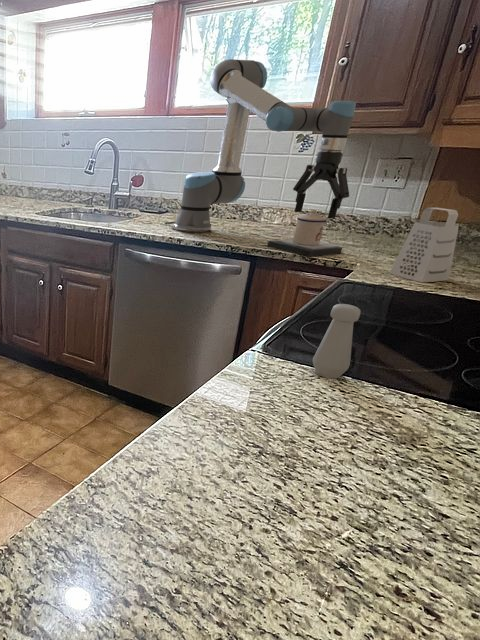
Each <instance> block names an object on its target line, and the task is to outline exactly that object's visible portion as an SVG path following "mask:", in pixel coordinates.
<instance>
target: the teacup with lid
mask: <svg viewBox="0 0 480 640" xmlns="http://www.w3.org/2000/svg"><path fill="white" fill-rule="evenodd" d="M317 212H318V211H317V209H311V210H310V211H309V212H307V213H305V214H301V215H298V216H297V218H296V219H297V221H296V225H295V229H294V232H293V238H292V239H293V242H294V243H297V244H302V245H318V244H319V242H321V238H322V234H323V231H324V227H325V224H326V222H327V220H326V219H327V217H324V216H322V215H321V214H320V213H317Z"/></svg>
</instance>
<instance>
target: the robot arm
mask: <svg viewBox="0 0 480 640" xmlns="http://www.w3.org/2000/svg"><path fill="white" fill-rule="evenodd" d="M209 80H210V81H209V82H210V83H209V84H210V87H211V89H213V91H214V92H216V93H217V94H218V95H220V96H221V97H224V100H225V101H226V102H227V109H226V115H225V119H224V124H223V130H222V137H221V142H220V147H219V154H218V159H217V164H216V167H214V168H213V169H212V171H197V172H191V173H188V174H187V175H186V176H185V179H184V183H183V189H182V196H181V204H180V210H179V212H178V215H177V216H176V220H175V221H167V222H164V225H168V224H169V225H170V224H171V225H172V224H173V227H172V228H173V230H175V231H180V232H186V233H209V232H211V229H212V224H211V217H210V207H211V205H215V204H224V205H226V204H230V203H235V202H237V201H238V200H239V199H240V198H241V197H242V195H243V194H244V192H245V188H246V182H245V178H244V177H243V176H242V172H243V171H242V169H241V168H240V162H241V158H242V153H243V147H244V143H245V138H246V132H247V128H248V127H247V126H248V121H249V118H250V112H251V113H252V114H254V115H255V116H257V117H258V118H260V119H262V120H263V121H264V122H265V125H266V127H267V129H268V130H270V131H273V132H277V133H279V132H306V133H307V132H311V133H312V132H313V133H315V132H316V133H317V132H319V133H322V135H321V139H320V143H319V146H318V150H319V151H318V152H317V155H316V159H315V163H316V164H307V165H306V167H305V171H304V172H303V173H302V175H301V176H300V178H299V179H298V181H297V182H296V183H295V185H294V186H293V188H292V191H294V192H297V193H296V197H295V208H294V210H293V211H294V213H302V211H303V207H304V203H305V199H306V195H307V193H306V191H307V190H309V188H310V187H311V186H313V185H314V184H315V183H316V182H317V181H318V180H319V181H320V180H322V181H327V183H328V184H329V186H330V188H331V190H332V193H333V195H334V198H332V200H331V204H330V207H329V211H328V214H327V219H336V216H337V212H338V210H339V209H340V208H341V205H342V202H343V199H346V198H349V197H350V191H349V184H348V177H347V174H348V168H347V167H339V166H340V164H341V163H342V159H343V155H344V153H343V151H344V150H345V148H346V145H347V141H348V136H349V132H350V128H351V127H352V123H353V120H354V117H355V110H356V106H357V103H356V102H355V101H353V100H333V101H331V102H330V104H329V106H328V107H302V106H301V107H299V106H291V105H289V104H288V103H286V102H284V101H283V100H282V99H280V98H278V97H277V96H275V95H274V94H272V93H270V92H268V91H267V90H265V89H264V88H265V86H266V84H267V80H268V71H267V68H266V66H265V65H264V63H262V62H261V61H257V60H253V59H252V60H251V59H236V58H235V59H234V58H228V59H225V60H222V61H220V62H219V63H218V64H217V65H216V66H214V68H213V70H212V71H211V73H210V78H209ZM313 172H314V173H313ZM336 174H337V175H336Z"/></svg>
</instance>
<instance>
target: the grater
mask: <svg viewBox="0 0 480 640" xmlns="http://www.w3.org/2000/svg"><path fill="white" fill-rule="evenodd" d="M434 210H439V211H446V212H447V214H448V216H447V219H446V222H438V221H430V220H431V217H432V213H433V211H434ZM458 217H459V212H458V211H457V210H456V209H449V208H443V207H427V208H425V209H424V210H422V214H421V216H420V220H419V221H415V222H414V223H413V225H412V227H411V229H410V231H409V233H408V234H407V237H406V239H405V241H404V243H403V245H402V247H401V249H400V251H399V253H398V255H397V256H396V259H395V260H394V262H393V264H392V266H391V269H390V270H389V272H388V274H389V275H393V276H398V277H401V278H404V279H409V280H411V281H415V282H419V283H430V282H431V283H432V282H442V281H443V282H444V281H450V275H451V269H452V265H453V260H454V253H455V249H456V244H457V238H458V233H459V227H460V226H459V225H458V224H457V225H456V222H457V219H458ZM415 249H416V250H415ZM404 264H405V265H404ZM409 273H410V274H409ZM412 274H414V275H412Z"/></svg>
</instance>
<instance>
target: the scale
mask: <svg viewBox="0 0 480 640" xmlns="http://www.w3.org/2000/svg"><path fill="white" fill-rule="evenodd" d="M267 247H270V248H273V249H276V250H281V251H284V252H289V253H292V254H297V255H302V256H305V257H308V258H309V257H318V256H327V255H328V256H329V255H338V254H342V250H343V247H341V246H340V245H336V244H333V243H327V242H323V241H320V242H319V244H318V245H302V244H297V243H294V242H293V238H286V239H277V240H276V239H275V240H267Z"/></svg>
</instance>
